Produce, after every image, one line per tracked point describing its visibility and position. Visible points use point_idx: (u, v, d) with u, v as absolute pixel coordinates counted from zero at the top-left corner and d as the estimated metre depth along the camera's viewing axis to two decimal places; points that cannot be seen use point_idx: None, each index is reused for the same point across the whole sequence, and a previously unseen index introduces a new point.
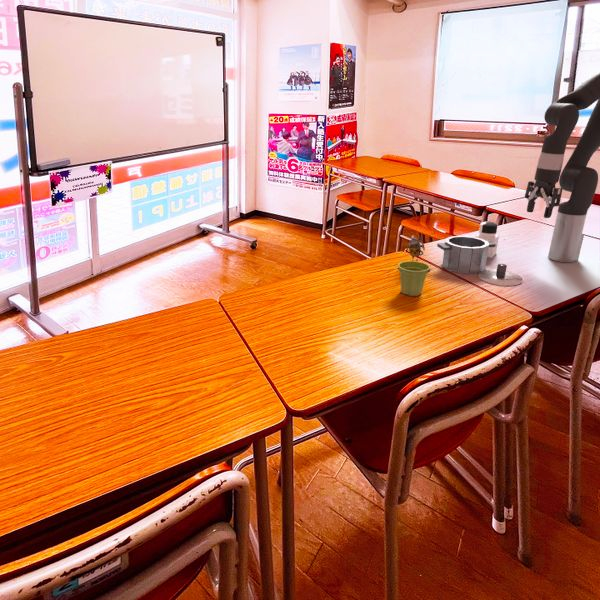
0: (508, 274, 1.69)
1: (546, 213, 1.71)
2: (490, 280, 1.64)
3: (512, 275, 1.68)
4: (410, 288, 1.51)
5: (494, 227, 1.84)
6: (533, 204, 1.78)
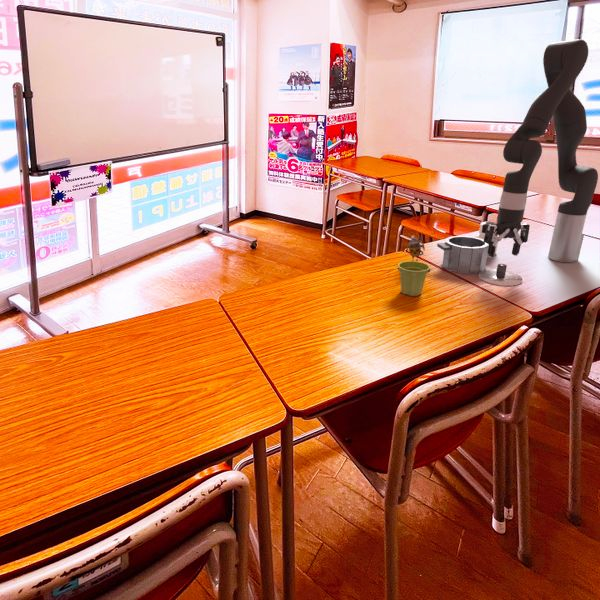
0: (508, 274, 1.69)
1: (518, 251, 1.64)
2: (490, 280, 1.64)
3: (512, 275, 1.68)
4: (410, 288, 1.51)
5: None
6: None
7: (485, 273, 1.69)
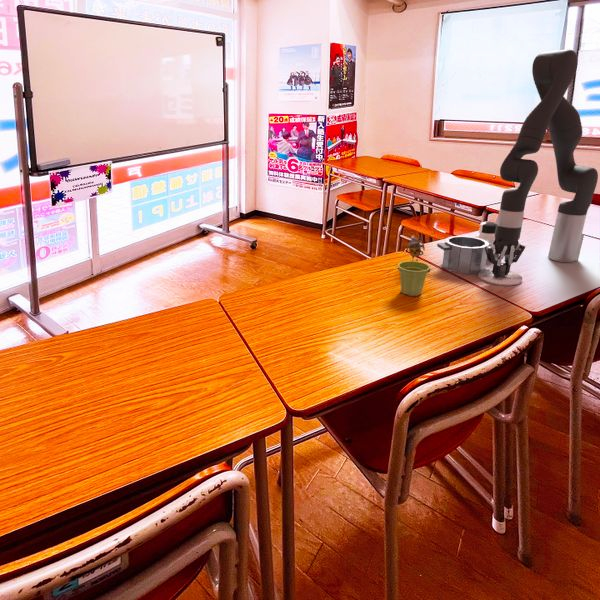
0: (508, 273, 1.69)
1: (508, 270, 1.66)
2: (490, 279, 1.64)
3: (511, 274, 1.68)
4: (410, 288, 1.51)
5: (494, 227, 1.84)
6: None
7: (485, 272, 1.69)
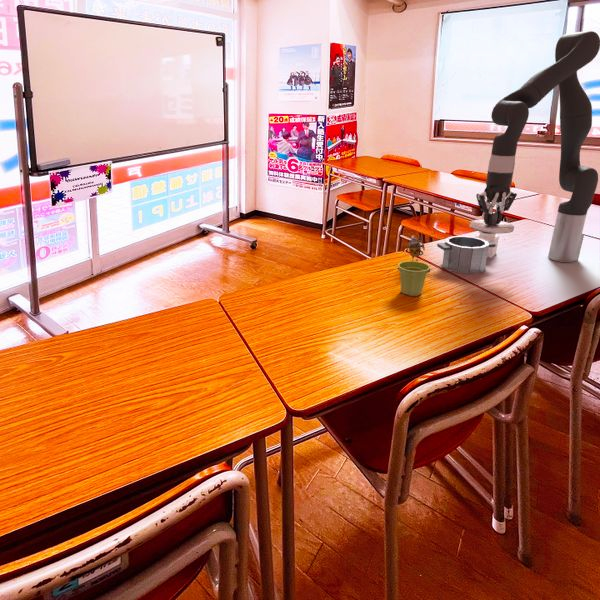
0: (500, 223, 1.66)
1: (499, 219, 1.64)
2: (482, 227, 1.61)
3: (503, 223, 1.66)
4: (410, 288, 1.51)
5: None
6: None
7: (476, 222, 1.67)
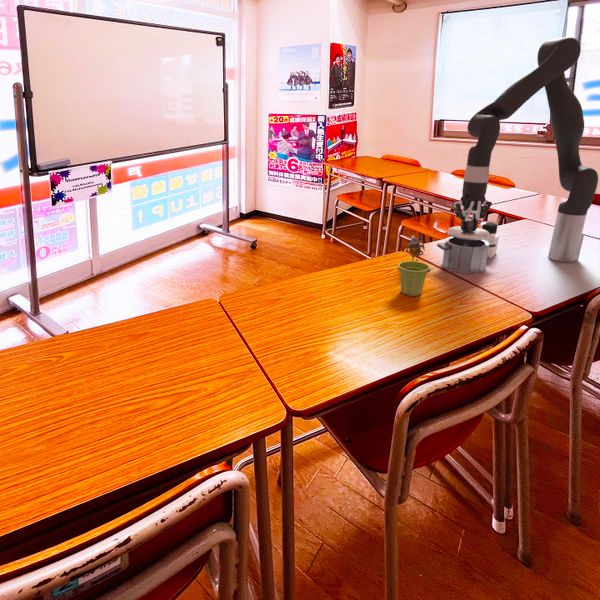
0: (476, 230, 1.74)
1: (476, 226, 1.71)
2: (458, 234, 1.69)
3: (480, 230, 1.74)
4: (410, 288, 1.51)
5: (494, 227, 1.84)
6: None
7: (454, 229, 1.75)
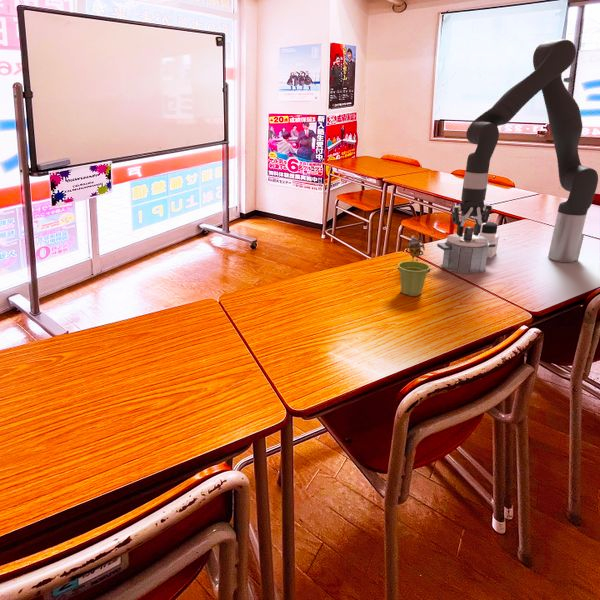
0: (475, 237, 1.75)
1: (478, 231, 1.72)
2: (457, 242, 1.70)
3: (479, 237, 1.75)
4: (410, 288, 1.51)
5: (494, 227, 1.84)
6: None
7: (453, 236, 1.76)
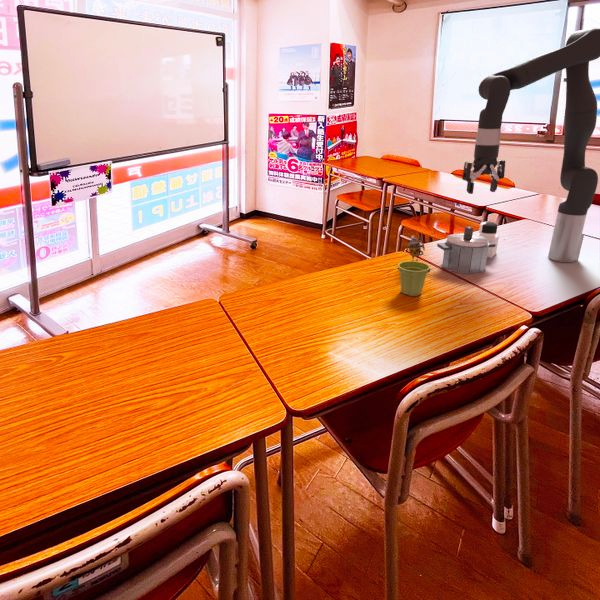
0: (475, 237, 1.75)
1: (495, 187, 1.71)
2: (457, 242, 1.70)
3: (479, 237, 1.75)
4: (410, 288, 1.51)
5: (494, 227, 1.84)
6: None
7: (453, 236, 1.76)
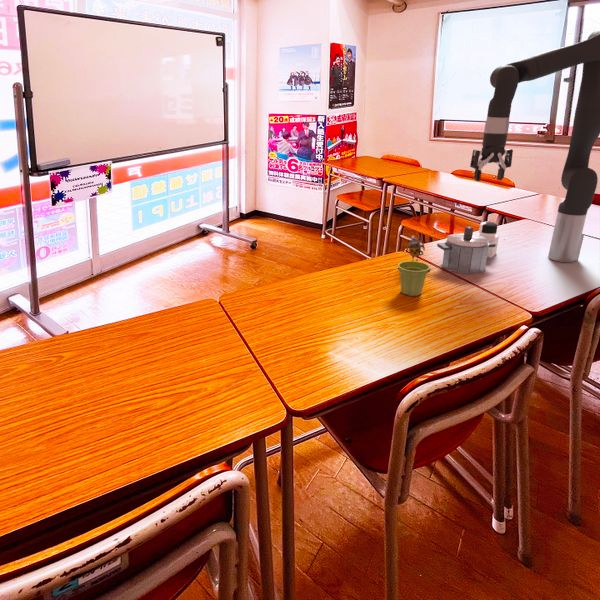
0: (475, 237, 1.75)
1: (502, 175, 1.75)
2: (457, 242, 1.70)
3: (479, 237, 1.75)
4: (410, 288, 1.51)
5: (494, 227, 1.84)
6: None
7: (453, 236, 1.76)
